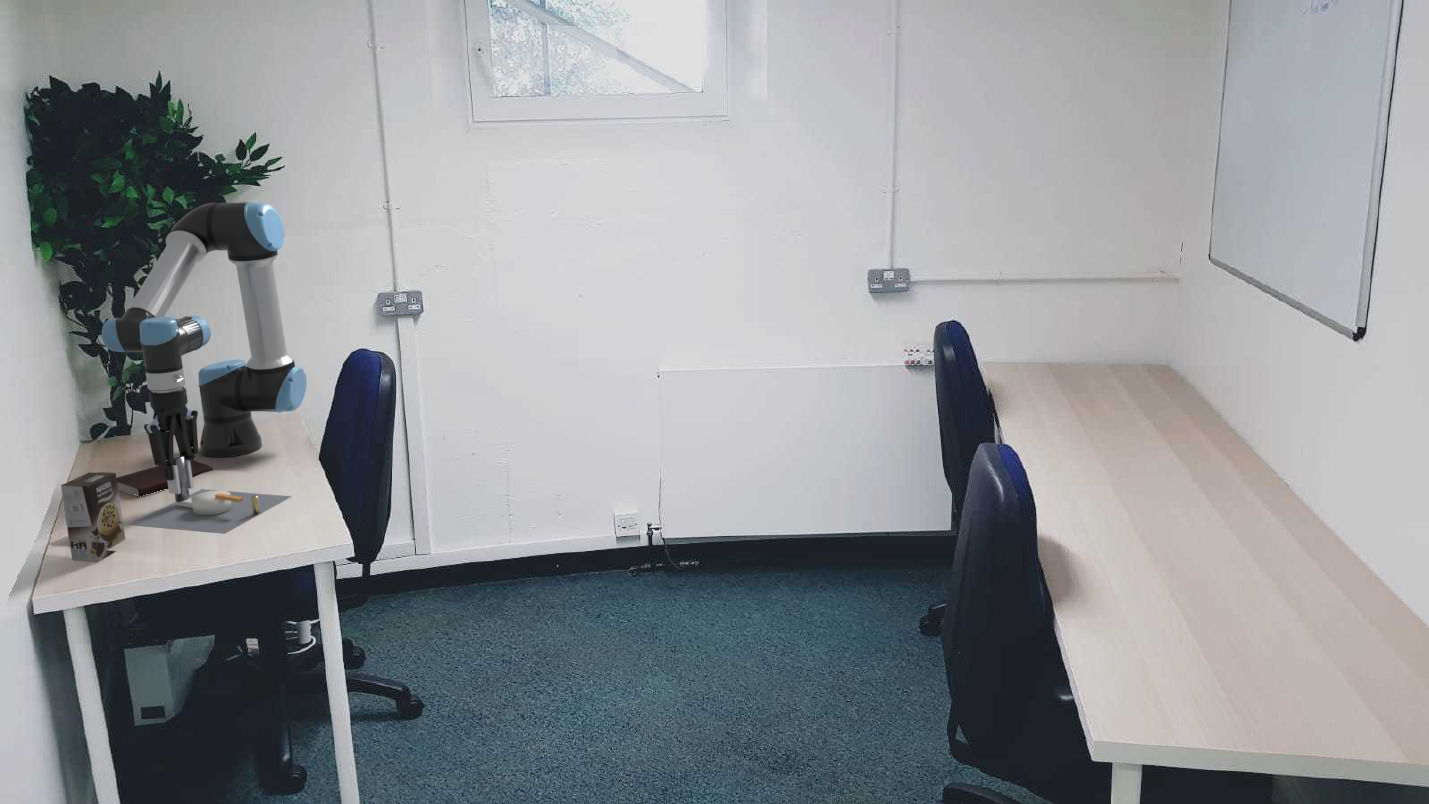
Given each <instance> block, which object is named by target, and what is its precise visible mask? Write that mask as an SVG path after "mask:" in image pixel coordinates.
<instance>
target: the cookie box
mask: <svg viewBox="0 0 1429 804" xmlns="http://www.w3.org/2000/svg"><path fill="white" fill-rule="evenodd" d="M60 488H61V495H62V496H61V497H62V503H63V507H64V515H65V521H66V522H65V523H66V528H67V535H68V541H69V542H68V543H69V549H70V555H71V556H70V557H71V560H72V561H83V562H84V561H85V562H95V563H96V562H97V563H98V562H101V561H102V560H104V559H106V558H108V557H109V556H111V555H114V554H115V553H116V552H117V550H110V549H111V548H114V547H115V546H117V545H120V543H122V542H124V541H126V533H125V525H124V520H123V519H124V518H123V513H122V507H121V499H120V498H121V497H120V493H119V492H120V491H118V485H117V473H116V472H92V471H91V472H87V473H85V474H83V475H80V476H78V477H77V478H73V479H72V480H70V481H67V482H65V483H63V484H60Z"/></svg>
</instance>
